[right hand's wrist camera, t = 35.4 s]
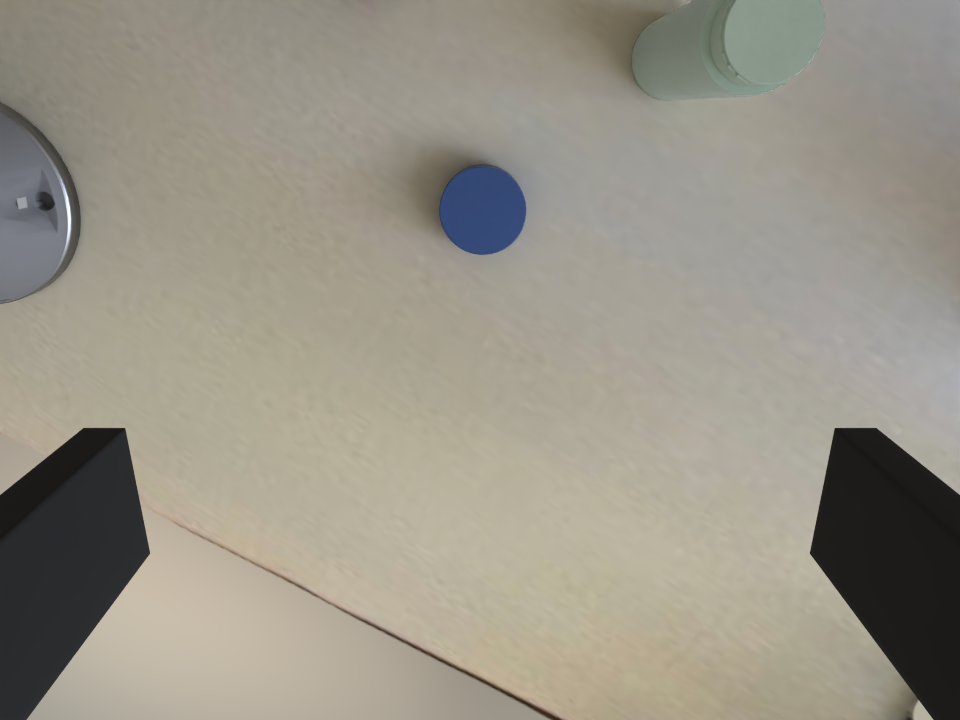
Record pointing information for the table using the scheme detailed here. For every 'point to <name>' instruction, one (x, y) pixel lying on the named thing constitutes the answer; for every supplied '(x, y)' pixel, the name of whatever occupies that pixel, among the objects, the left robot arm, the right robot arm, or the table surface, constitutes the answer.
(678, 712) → the table surface
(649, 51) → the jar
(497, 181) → the lid
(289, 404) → the table surface
